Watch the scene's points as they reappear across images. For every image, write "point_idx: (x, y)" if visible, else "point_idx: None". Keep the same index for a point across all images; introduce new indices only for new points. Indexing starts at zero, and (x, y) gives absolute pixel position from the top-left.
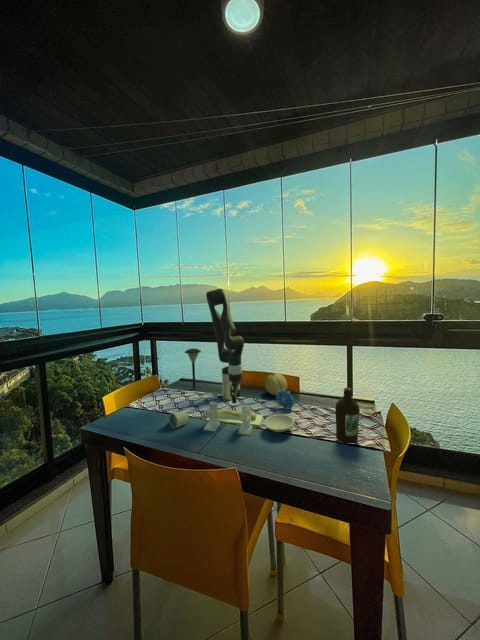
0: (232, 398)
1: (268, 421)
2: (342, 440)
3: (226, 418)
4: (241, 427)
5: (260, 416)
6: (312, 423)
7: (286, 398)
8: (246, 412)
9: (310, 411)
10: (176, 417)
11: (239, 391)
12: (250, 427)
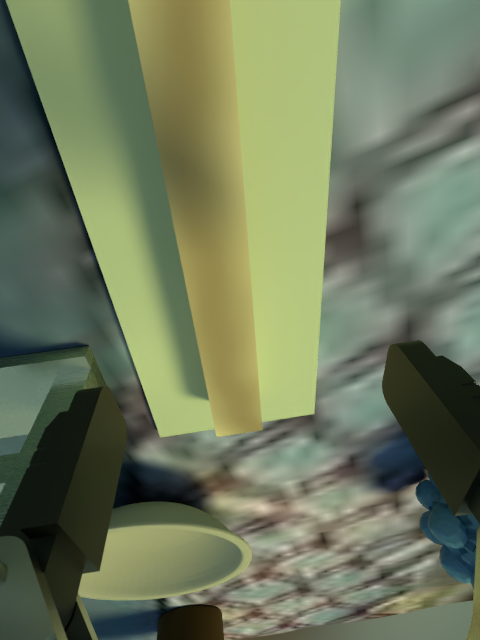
0: (9, 511)
1: (147, 518)
2: (158, 631)
3: (142, 157)
4: (35, 373)
5: (286, 408)
6: (278, 556)
7: (458, 550)
8: None
9: (396, 531)
10: None
11: (452, 504)
12: None
